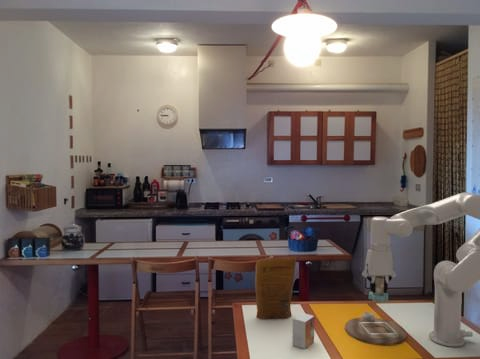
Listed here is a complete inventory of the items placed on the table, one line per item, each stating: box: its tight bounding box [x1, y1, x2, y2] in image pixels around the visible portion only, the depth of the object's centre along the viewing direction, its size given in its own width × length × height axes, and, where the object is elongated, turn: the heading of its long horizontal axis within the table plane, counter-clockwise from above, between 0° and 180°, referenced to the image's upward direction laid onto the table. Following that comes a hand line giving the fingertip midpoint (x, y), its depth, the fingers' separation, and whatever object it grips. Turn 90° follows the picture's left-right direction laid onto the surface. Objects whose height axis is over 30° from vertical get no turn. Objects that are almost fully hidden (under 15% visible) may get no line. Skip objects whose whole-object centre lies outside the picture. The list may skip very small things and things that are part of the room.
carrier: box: [344, 311, 407, 346], centre depth 169 cm, size 24×24×4 cm
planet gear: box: [368, 276, 389, 303], centre depth 165 cm, size 8×8×9 cm
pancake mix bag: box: [254, 256, 297, 320], centre depth 183 cm, size 7×19×28 cm, turn 98°
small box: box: [292, 312, 316, 349], centre depth 157 cm, size 8×6×10 cm
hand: (378, 291), depth 165 cm, fingers closed on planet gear, 4 cm apart
